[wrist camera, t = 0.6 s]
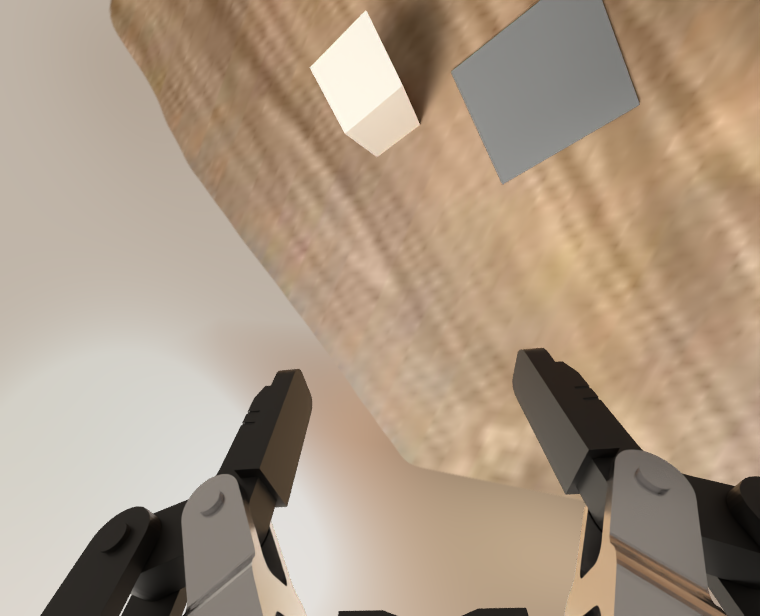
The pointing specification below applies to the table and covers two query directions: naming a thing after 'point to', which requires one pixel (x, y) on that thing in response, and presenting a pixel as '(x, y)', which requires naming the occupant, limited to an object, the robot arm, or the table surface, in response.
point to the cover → (365, 88)
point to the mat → (545, 83)
